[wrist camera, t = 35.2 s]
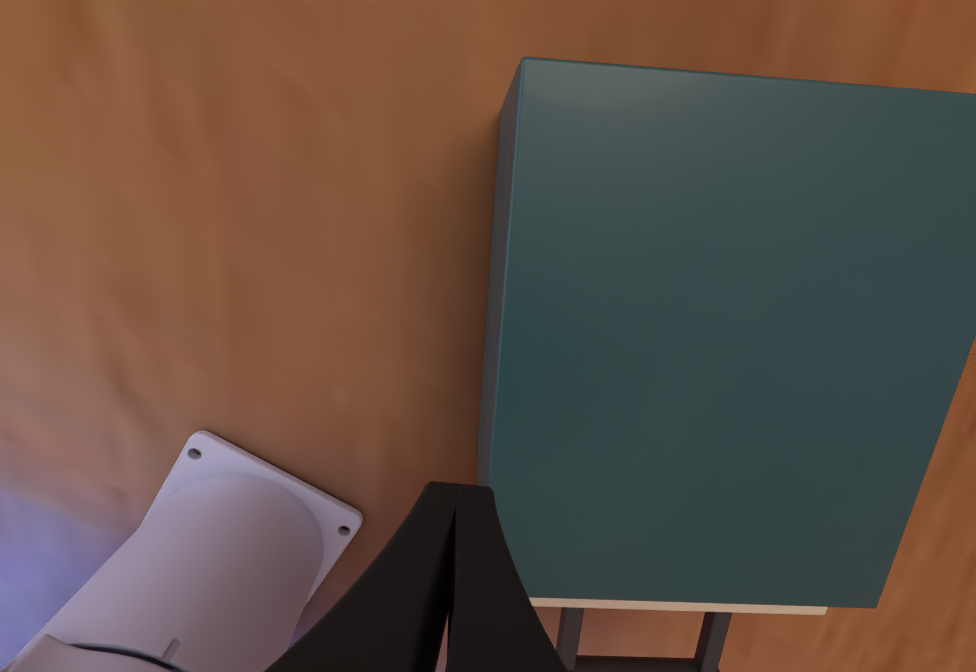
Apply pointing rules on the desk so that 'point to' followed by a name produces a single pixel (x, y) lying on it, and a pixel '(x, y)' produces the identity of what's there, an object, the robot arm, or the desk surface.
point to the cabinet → (720, 329)
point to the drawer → (621, 668)
